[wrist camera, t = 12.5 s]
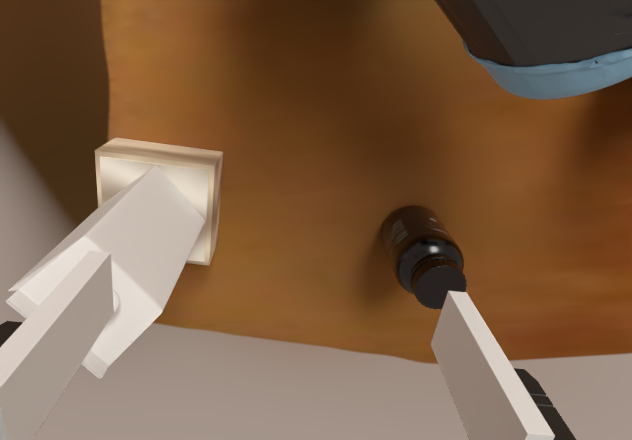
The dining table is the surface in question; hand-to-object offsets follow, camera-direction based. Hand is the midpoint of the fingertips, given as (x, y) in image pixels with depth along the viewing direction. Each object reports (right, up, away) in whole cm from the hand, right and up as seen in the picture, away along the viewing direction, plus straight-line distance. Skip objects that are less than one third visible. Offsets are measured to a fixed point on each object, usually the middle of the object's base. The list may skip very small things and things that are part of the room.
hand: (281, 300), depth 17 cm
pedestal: (-15, +6, +30) cm, 34 cm away
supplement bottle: (+12, +2, +34) cm, 36 cm away
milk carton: (-14, +4, +26) cm, 30 cm away
